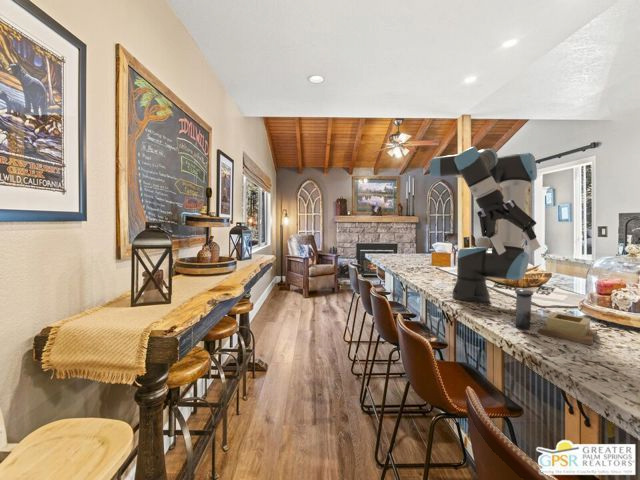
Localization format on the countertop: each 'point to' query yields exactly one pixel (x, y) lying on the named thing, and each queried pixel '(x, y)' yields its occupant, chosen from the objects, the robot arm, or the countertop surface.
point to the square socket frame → (568, 324)
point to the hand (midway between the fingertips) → (518, 251)
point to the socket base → (570, 335)
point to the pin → (523, 308)
